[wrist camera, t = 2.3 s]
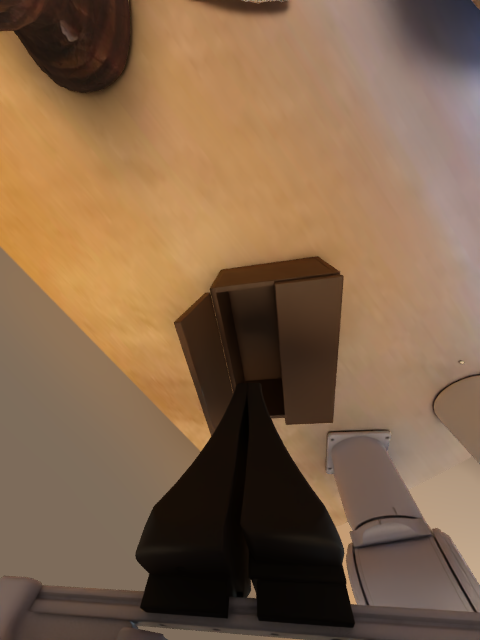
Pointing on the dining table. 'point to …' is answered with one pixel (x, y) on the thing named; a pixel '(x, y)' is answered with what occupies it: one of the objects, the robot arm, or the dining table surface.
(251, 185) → the dining table surface
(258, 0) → the arrowhead
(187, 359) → the flap
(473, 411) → the mug
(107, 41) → the mortar and pestle
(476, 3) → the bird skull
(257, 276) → the carton
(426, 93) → the dining table surface
